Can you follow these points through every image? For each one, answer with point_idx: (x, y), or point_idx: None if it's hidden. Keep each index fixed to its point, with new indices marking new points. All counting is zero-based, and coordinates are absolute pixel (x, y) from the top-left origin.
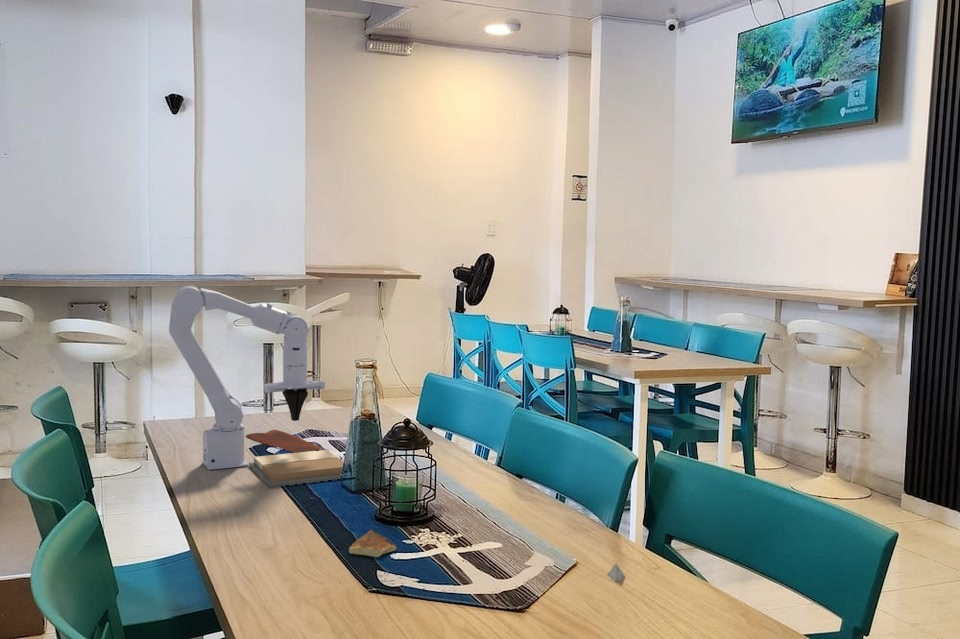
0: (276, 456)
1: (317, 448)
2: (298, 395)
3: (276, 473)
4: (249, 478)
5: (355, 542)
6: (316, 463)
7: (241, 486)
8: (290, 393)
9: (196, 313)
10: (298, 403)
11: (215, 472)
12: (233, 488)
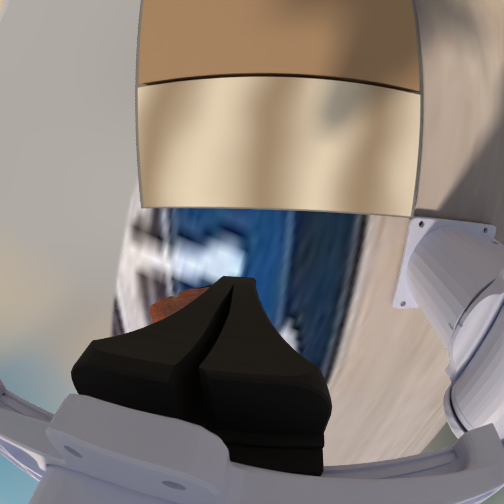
0: (344, 184)
1: (162, 315)
2: (181, 369)
3: None
4: (441, 91)
5: None
6: (233, 29)
7: (466, 39)
8: (265, 429)
9: None
10: (201, 326)
11: (488, 201)
12: (482, 38)
